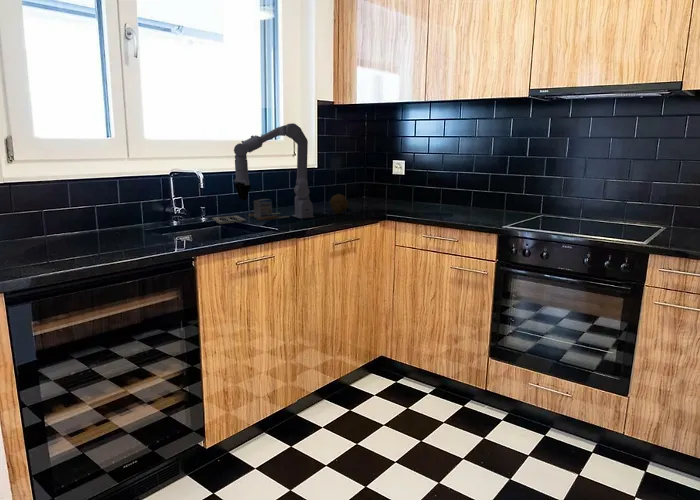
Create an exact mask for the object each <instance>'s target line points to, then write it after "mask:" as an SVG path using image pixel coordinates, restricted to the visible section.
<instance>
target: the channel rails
mask: <svg viewBox="0 0 700 500" xmlns="http://www.w3.org/2000/svg"><path fill="white" fill-rule="evenodd" d="M248 216H249V217H250V218H252V217H253V218H254V213H248ZM278 217H279V215H272V216H266V217H257V218H256V220H257V221H266V219H267V220H276V219H279V218H278Z"/></svg>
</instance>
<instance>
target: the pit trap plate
mask: <svg viewBox="0 0 700 500" xmlns="http://www.w3.org/2000/svg"><path fill="white" fill-rule="evenodd" d="M230 218H232V219H230ZM234 218H235V219H234ZM212 219H213V220H215V221H216V222H215V221H214V222H215V223H217V224H219V225H224V224H234V222H236V223H243V222H242V221H247V219H245V218H243V217H241V216H239V215H229V216H217V217H216V216H215V217H211V220H212ZM220 219H221V220H220ZM225 219H226V220H225ZM236 219H237V220H236ZM213 220H212V221H213ZM227 220H228V221H227Z"/></svg>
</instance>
